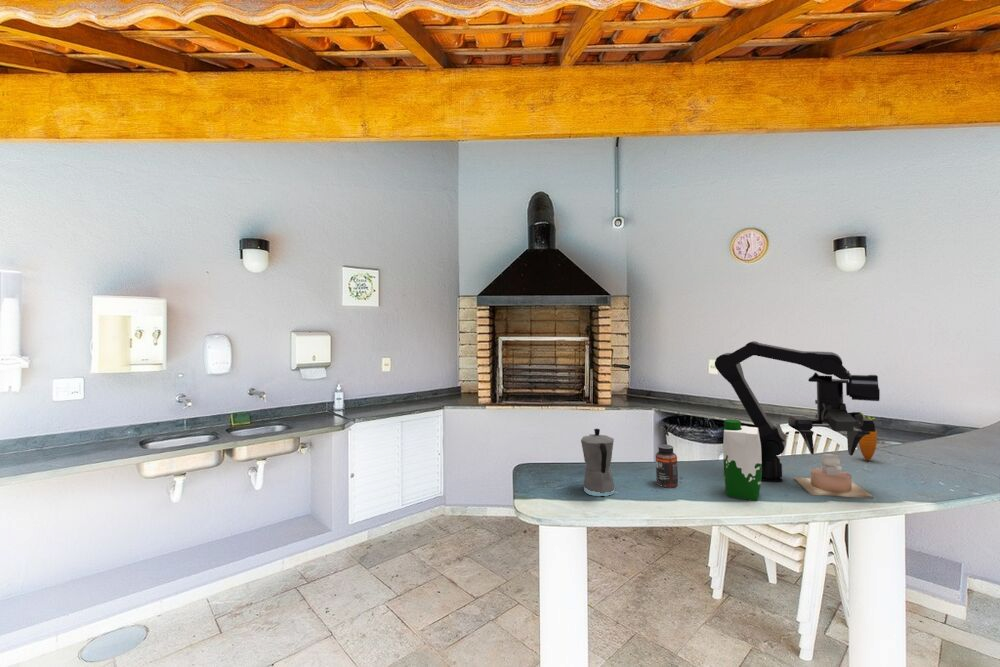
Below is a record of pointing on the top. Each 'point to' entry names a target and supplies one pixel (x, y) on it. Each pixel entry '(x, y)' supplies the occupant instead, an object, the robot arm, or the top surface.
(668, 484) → the supplement bottle
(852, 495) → the birch board
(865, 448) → the carrot
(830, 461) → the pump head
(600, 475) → the coffeepot
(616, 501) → the top surface
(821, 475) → the soap jar
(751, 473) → the milk carton
